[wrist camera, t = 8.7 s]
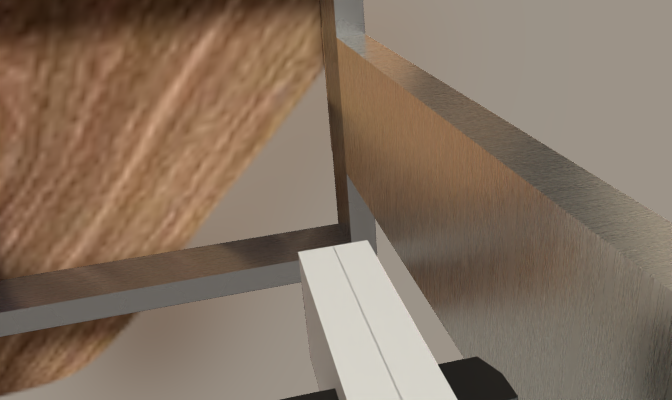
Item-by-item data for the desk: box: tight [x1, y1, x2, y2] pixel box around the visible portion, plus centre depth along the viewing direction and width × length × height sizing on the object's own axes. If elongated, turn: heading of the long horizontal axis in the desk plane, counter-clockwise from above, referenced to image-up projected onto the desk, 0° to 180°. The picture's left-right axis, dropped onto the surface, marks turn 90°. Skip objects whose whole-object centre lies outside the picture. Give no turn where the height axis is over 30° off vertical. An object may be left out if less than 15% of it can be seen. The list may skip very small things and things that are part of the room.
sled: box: [0, 0, 672, 400], centre depth 17 cm, size 24×16×24 cm
